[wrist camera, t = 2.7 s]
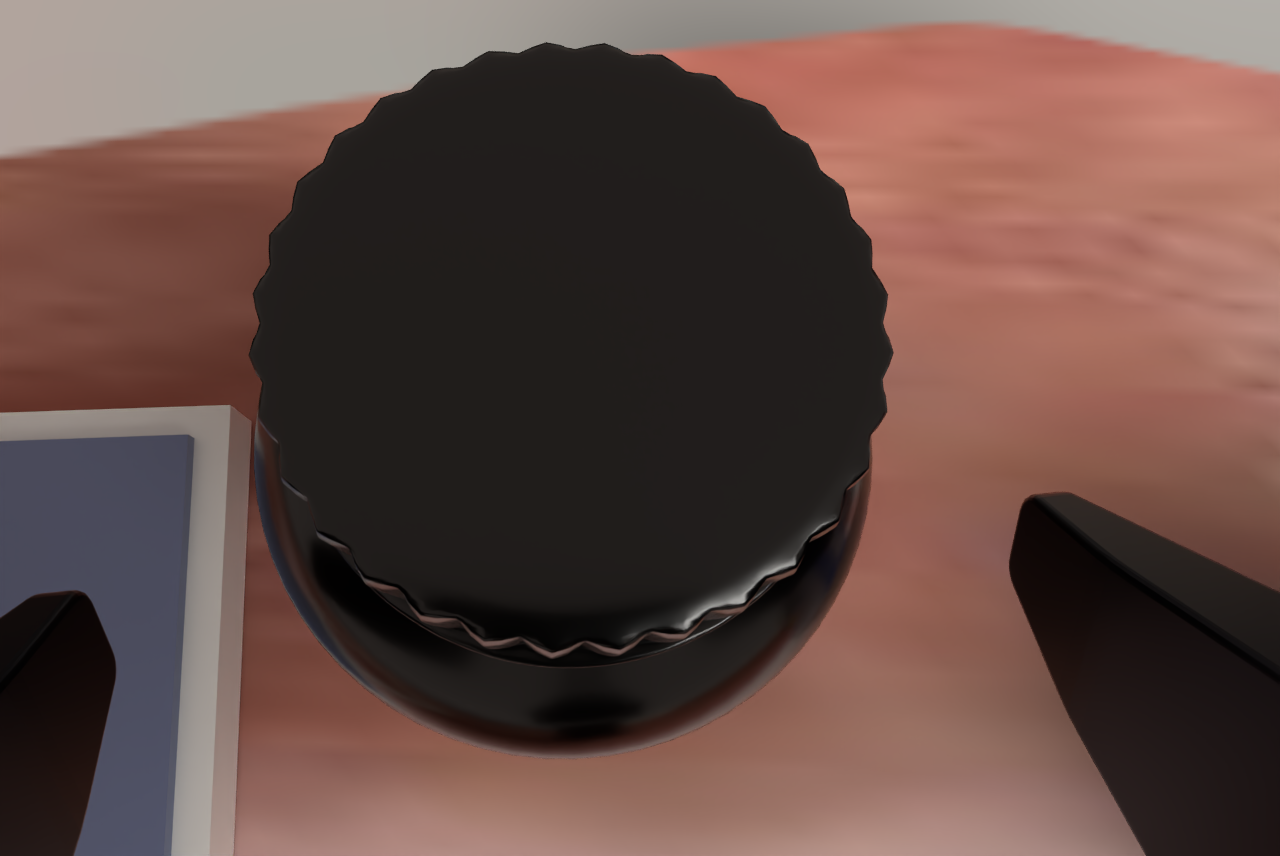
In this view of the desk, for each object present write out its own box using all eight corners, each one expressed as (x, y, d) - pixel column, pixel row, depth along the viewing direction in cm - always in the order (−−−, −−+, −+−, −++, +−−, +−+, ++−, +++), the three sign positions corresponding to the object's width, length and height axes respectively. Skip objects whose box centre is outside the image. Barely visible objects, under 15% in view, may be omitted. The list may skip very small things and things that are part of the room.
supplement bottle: (389, 737, 18) (35, 865, 6) (382, 376, 19) (96, -79, 8) (762, 704, 18) (1106, 763, 7) (725, 357, 20) (948, -91, 8)
